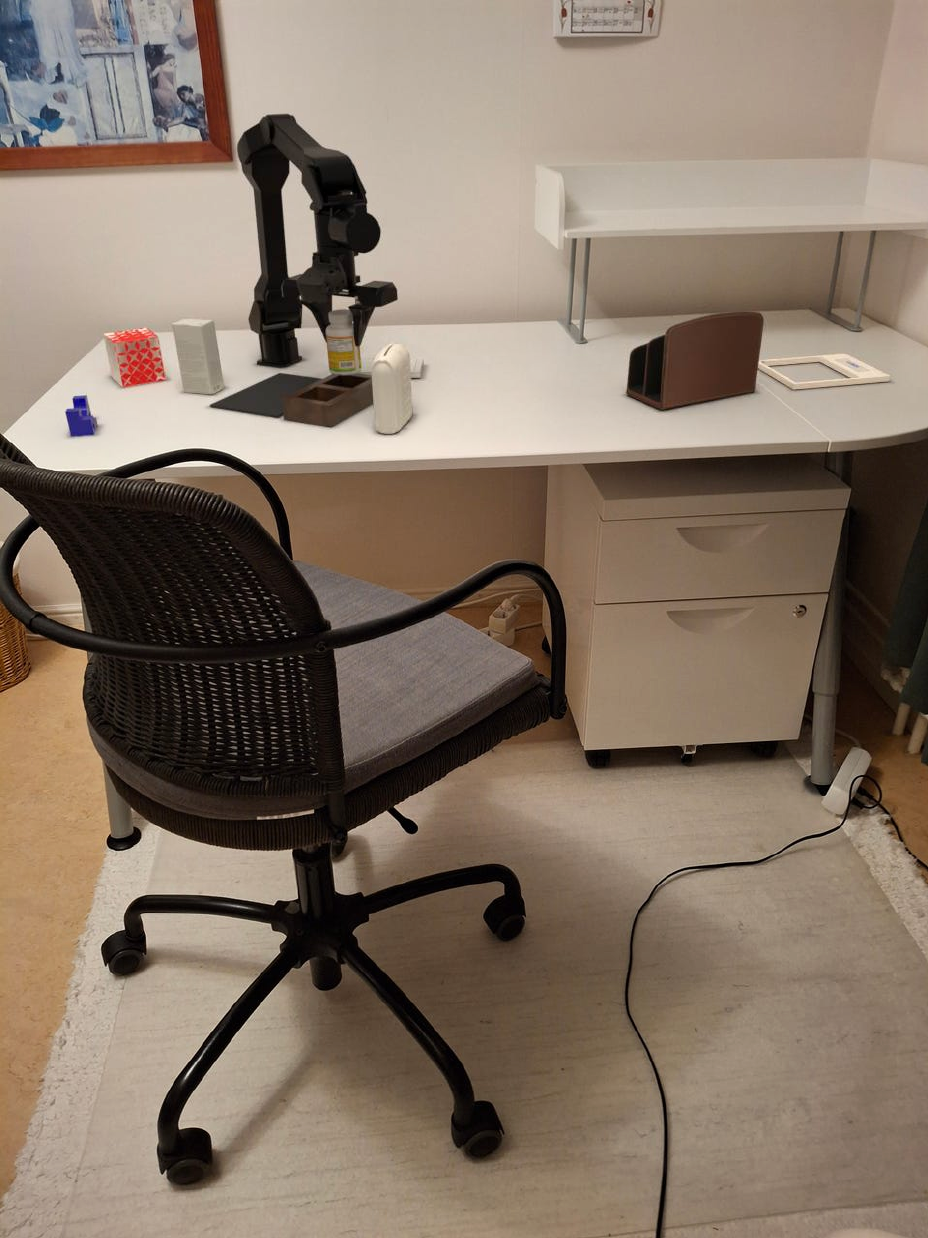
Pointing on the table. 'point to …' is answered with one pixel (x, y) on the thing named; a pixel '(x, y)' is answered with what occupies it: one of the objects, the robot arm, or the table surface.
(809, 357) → the photo frame
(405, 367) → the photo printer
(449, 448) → the table surface
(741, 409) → the table surface
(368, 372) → the hard drive
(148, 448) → the table surface
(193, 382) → the cosmetic box
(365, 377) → the bottle holder
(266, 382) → the desk mat
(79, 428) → the cable holder
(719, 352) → the letter holder
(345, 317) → the supplement bottle
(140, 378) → the puzzle cube
